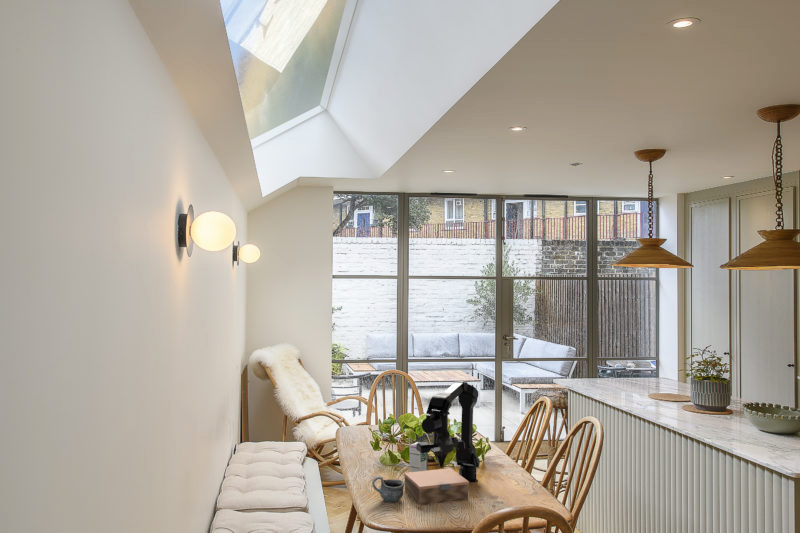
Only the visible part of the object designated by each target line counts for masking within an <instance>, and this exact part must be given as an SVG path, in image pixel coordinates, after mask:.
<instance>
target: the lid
mask: <svg viewBox="0 0 800 533" xmlns="http://www.w3.org/2000/svg"><path fill="white" fill-rule="evenodd" d="M405 476H406V477H407V478H408V479H409V480H410V481H411V482H412V483H413V484H414V485H415V486H416V487H417V488H419V489H430V488H439V487H440V490H446V489H450V486H457V485H466V484H468V485H470V482H469V481H468V480H466V479H465V478H463V477H462V476H461V475H459V472H457V471H456V470H454V469H453V468H451V467H449V468H439V469H428V471H417V472H410V471H408V472H404V477H405Z"/></svg>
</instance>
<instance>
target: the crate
mask: <svg viewBox="0 0 800 533" xmlns="http://www.w3.org/2000/svg"><path fill="white" fill-rule="evenodd" d="M404 491H405V492H406V493H407V494H408V495H409V497H410V498H412V500H414V501H415V502H416V504H418V505H419V506H427V505H435V504H436V503H437V504H446V503H453V502H461V501H469V484H466V485H457V486H450V489H446V490H440V487H439V488H430V489H419V488H417V487H416V486H415V485H414V484H413V483H412V482H411V481H410V480H409V479H408V478H407V477H406V476H405V475H404ZM445 502H446V503H445Z"/></svg>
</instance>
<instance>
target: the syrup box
mask: <svg viewBox="0 0 800 533" xmlns="http://www.w3.org/2000/svg"><path fill="white" fill-rule="evenodd" d="M419 442H420V441H416V442H415V443H411V444H409V448H408V449H409V472H417V471H428V470H429V469H428V467H429V466H428V453H420V452H419V451H418V450H416V445H417V443H419Z"/></svg>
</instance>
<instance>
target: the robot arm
mask: <svg viewBox="0 0 800 533" xmlns="http://www.w3.org/2000/svg"><path fill="white" fill-rule="evenodd" d="M478 397H479V391H478V389H477V388H476V387H474V386H473V385H471V384H469V383H468V382H467V381H465V380H455V381H454V382H453V384H452V385H450V386H449V387H448V388H447V389H446V390H444V391H443V392H439V393H436V394H434V395H432V397H431V398H430V399H429V400H430V401H429V404H428V407H427V411H426V415H425V418H424V419H423V420H422V421H421V429H422V431H423V432H424V433H426V434H433V436H432V437H433V439H432V440H431V441H432V443H428V442H427V441H421V442H420V441H418V442H419V443H417V445H416V450H418V451H419V452H420V453H427V454H428V453H430V452H432V453H433V455H434V457H435V460H436V461H437V464H438V467H439V469H443V467H444V463H445V461H446V459H447V457H448V455H449V454H450V453H452V452H453V451H454V448H455V451H456V452H455V461H456V466H459V469H458V474H459V475H461V476H462V477H463V478H465V479H466V480H468V481H469V483H474V482H475V483H476V482H479V479H478V478H477V468H479V467H480V463H481V462H480V460H481V459H480V458H479V457H478V455H477V449H476V447H475V444H474V443H473V434H474V433H473V432H474V431H473V430H474V429H473V427H474V407H475V406H476V404H477V403H478ZM456 398H457V399H458V400H457V401H458V403H459V405H460V407H461V426H460V427H461V428H460V438H458V437H457V436H453V437H451V436H450V431H449V427H448V426H449V422H448V420H449V418H448V417H449V415H450V411H449V410H450V409H451V407H452V405H453V404H452V402H453V401H454V400H455V399H456Z"/></svg>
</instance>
